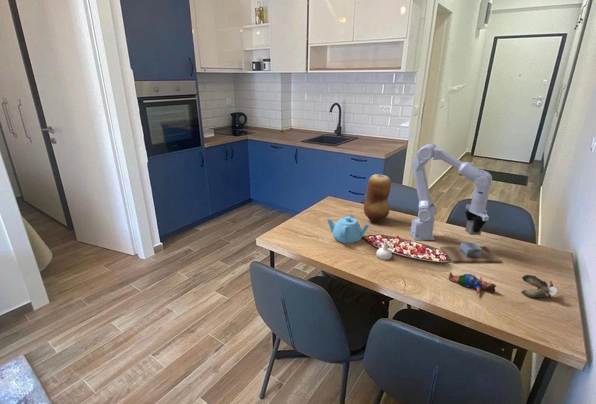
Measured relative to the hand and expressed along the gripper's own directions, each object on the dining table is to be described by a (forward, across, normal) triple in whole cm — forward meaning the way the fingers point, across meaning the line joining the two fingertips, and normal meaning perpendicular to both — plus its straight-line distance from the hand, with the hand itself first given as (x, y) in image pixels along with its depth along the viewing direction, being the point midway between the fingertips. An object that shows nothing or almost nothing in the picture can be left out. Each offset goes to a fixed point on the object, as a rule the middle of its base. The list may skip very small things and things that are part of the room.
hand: (473, 229), depth 139 cm
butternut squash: (+9, +31, +35) cm, 48 cm away
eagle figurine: (+9, -34, -6) cm, 36 cm away
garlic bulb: (+9, -8, +41) cm, 42 cm away
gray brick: (+2, 0, 0) cm, 2 cm away
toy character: (+10, -29, +14) cm, 33 cm away
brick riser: (+9, -7, +4) cm, 12 cm away
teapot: (+9, +11, +53) cm, 55 cm away
